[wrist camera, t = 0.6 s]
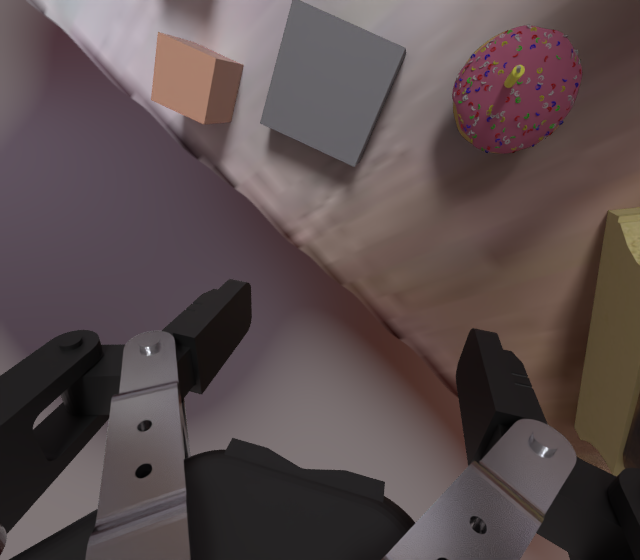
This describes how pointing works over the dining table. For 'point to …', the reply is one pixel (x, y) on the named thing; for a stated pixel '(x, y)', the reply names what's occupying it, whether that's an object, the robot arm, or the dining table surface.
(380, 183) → the dining table surface
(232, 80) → the terracotta cube
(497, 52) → the cupcake
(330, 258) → the dining table surface
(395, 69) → the plinth
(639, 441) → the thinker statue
